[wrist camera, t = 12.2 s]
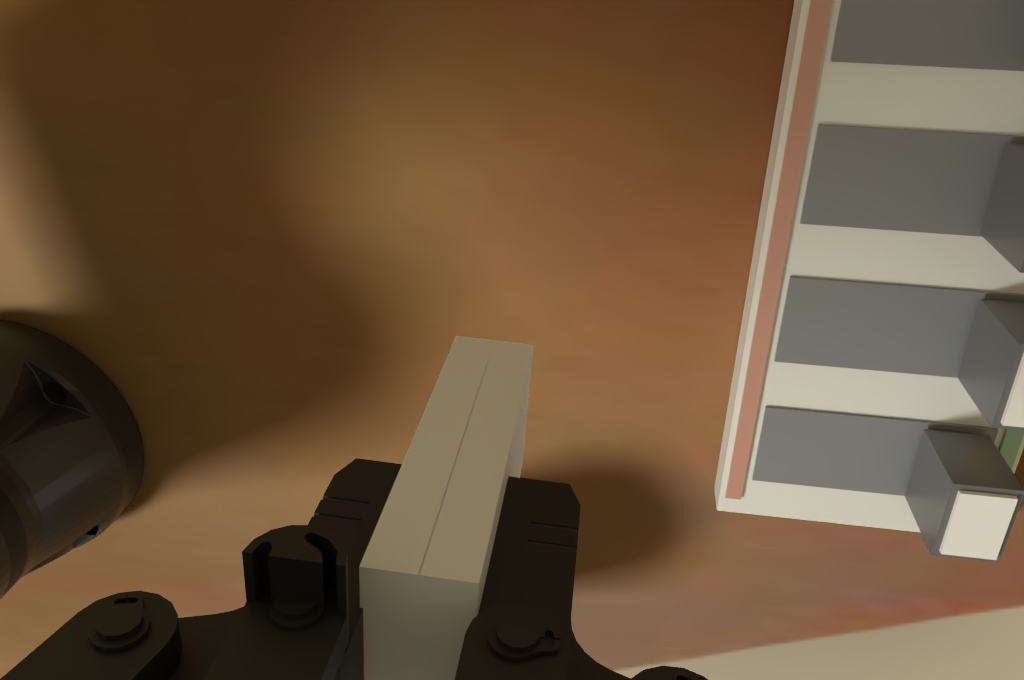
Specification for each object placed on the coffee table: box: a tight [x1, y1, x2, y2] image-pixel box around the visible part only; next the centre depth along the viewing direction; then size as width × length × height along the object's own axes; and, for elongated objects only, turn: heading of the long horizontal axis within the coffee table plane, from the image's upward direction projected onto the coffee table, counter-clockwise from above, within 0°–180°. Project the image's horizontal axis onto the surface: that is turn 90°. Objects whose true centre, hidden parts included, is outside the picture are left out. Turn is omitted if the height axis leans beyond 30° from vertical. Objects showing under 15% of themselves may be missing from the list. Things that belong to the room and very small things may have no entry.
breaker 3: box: [905, 429, 1024, 562], centre depth 40 cm, size 3×4×5 cm
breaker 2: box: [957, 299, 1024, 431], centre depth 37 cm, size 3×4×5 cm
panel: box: [714, 0, 1024, 532], centre depth 40 cm, size 14×30×2 cm, turn 179°
